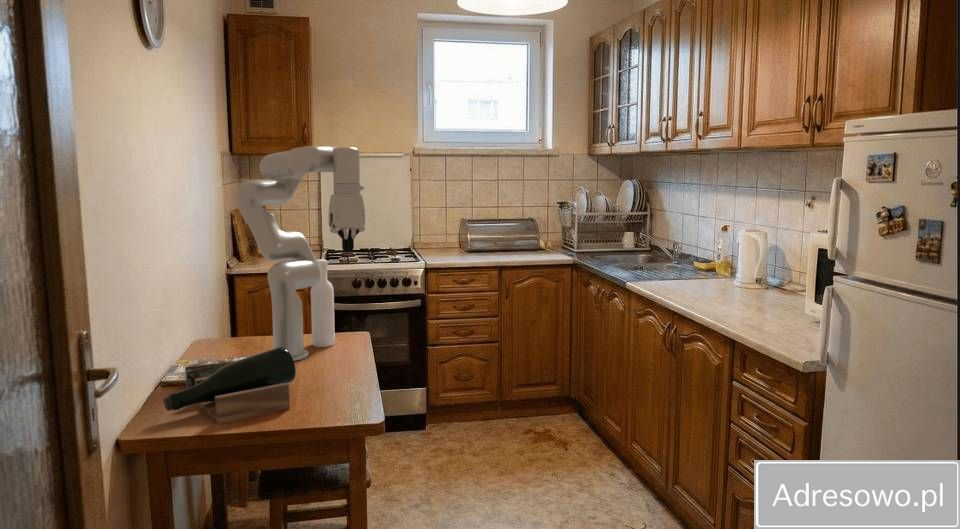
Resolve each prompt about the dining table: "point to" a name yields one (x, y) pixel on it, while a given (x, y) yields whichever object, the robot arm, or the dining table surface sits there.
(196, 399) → the beer bottle
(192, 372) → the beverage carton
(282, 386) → the cradle
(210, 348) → the dining table surface
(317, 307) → the bottle
